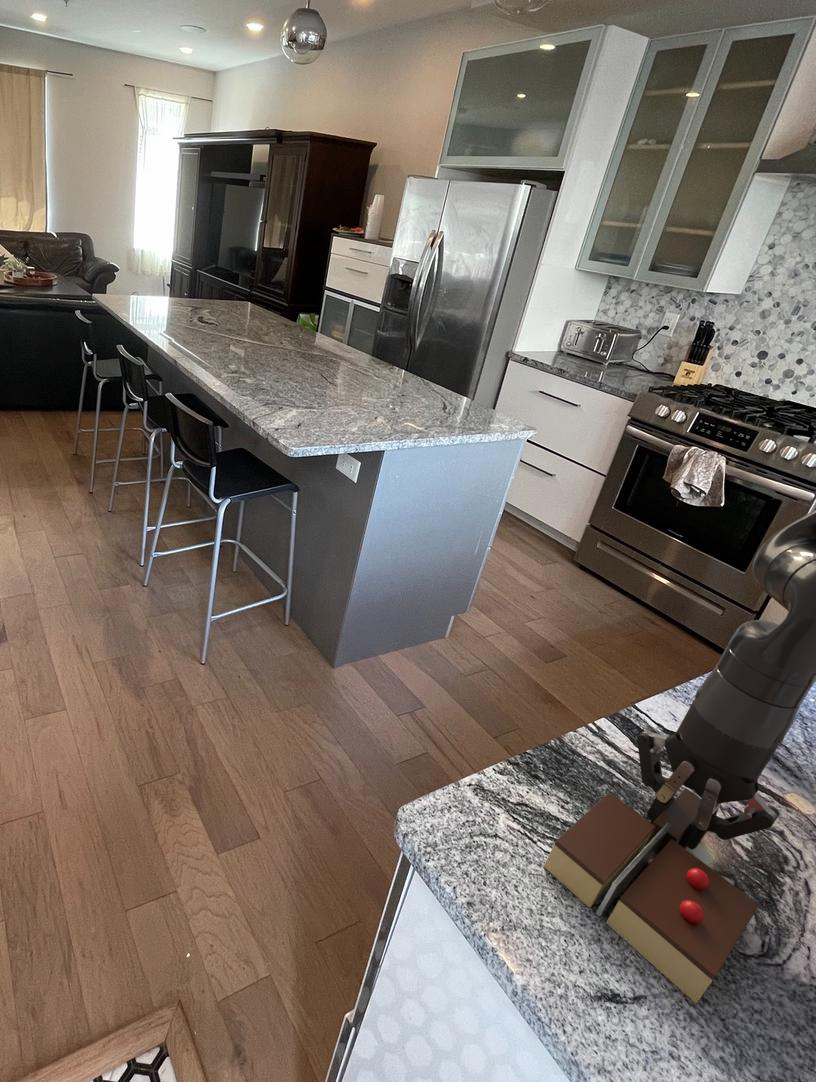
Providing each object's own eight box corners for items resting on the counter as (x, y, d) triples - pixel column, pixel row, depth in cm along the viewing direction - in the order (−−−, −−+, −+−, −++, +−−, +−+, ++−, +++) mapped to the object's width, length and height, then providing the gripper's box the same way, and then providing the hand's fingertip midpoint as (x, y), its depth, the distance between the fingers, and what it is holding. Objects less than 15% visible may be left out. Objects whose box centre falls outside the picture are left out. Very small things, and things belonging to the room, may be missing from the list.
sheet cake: (656, 863, 68) (677, 828, 66) (741, 930, 62) (766, 894, 60) (605, 922, 61) (627, 885, 59) (695, 1004, 55) (723, 965, 53)
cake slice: (596, 816, 73) (609, 791, 71) (641, 851, 69) (655, 826, 68) (543, 866, 66) (555, 840, 64) (589, 908, 62) (604, 881, 61)
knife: (673, 808, 75) (689, 781, 73) (695, 824, 73) (712, 797, 72) (585, 904, 62) (602, 874, 60) (609, 926, 60) (627, 895, 59)
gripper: (830, 751, 62) (750, 868, 69) (679, 666, 72) (621, 776, 79) (810, 781, 58) (726, 904, 64) (651, 686, 68) (593, 801, 74)
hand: (669, 833), depth 71 cm, fingers closed on knife, 2 cm apart
